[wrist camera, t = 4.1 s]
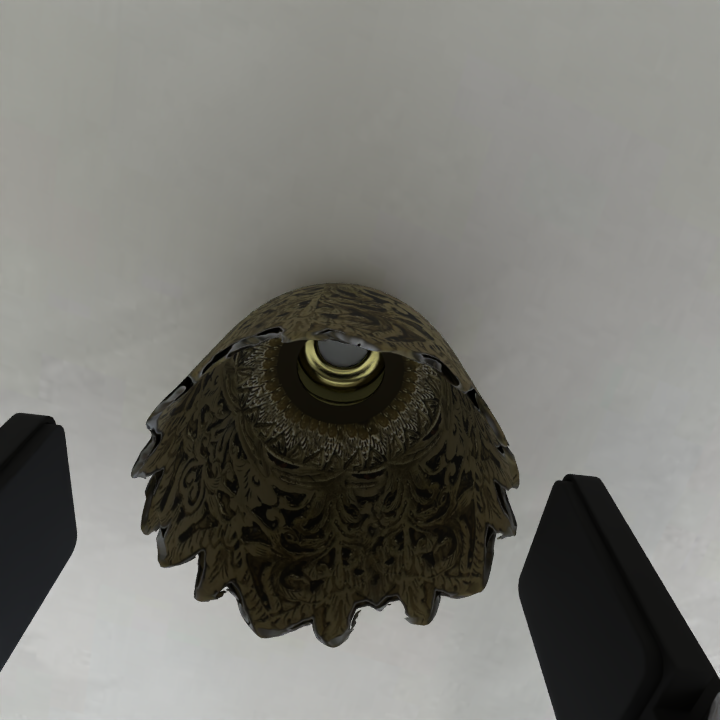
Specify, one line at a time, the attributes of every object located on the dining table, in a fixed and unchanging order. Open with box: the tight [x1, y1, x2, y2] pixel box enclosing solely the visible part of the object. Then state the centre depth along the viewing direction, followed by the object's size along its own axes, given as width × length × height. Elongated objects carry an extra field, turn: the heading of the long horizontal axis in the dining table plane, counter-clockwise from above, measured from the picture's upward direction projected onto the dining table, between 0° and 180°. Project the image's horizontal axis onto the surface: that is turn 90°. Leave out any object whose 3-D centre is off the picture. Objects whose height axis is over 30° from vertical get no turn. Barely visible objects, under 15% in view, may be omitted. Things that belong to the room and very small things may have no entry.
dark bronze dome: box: [131, 283, 519, 648], centre depth 14 cm, size 8×7×8 cm
